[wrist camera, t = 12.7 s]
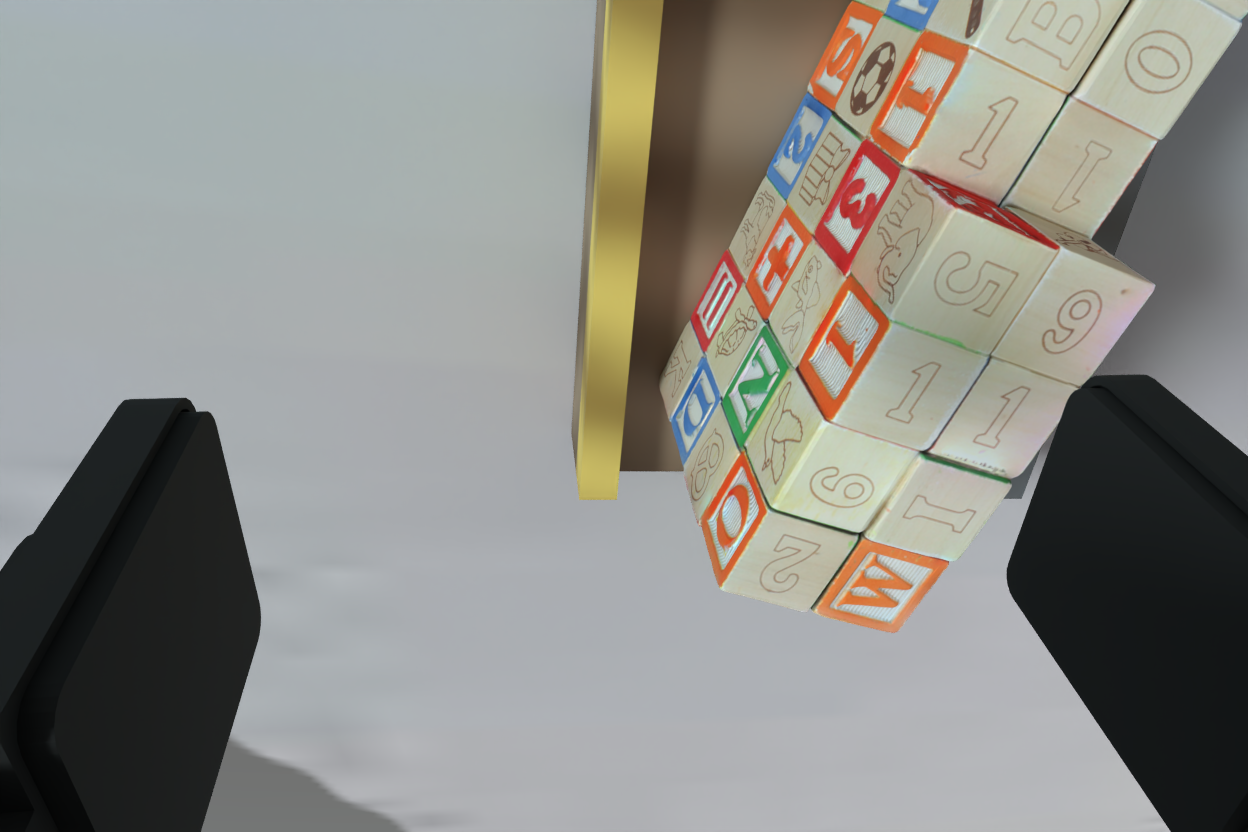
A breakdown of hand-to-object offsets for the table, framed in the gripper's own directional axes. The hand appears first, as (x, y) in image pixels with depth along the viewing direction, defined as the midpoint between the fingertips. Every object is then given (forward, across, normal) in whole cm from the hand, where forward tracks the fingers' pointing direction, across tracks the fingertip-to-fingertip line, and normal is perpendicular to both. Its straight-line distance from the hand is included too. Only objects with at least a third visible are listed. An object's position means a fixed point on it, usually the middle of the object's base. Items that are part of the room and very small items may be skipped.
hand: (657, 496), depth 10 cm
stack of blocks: (+23, -11, +3) cm, 25 cm away
